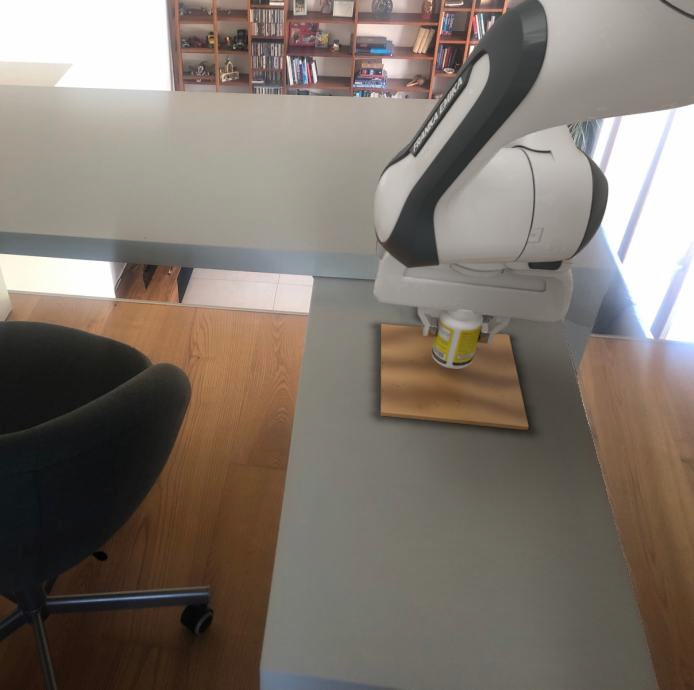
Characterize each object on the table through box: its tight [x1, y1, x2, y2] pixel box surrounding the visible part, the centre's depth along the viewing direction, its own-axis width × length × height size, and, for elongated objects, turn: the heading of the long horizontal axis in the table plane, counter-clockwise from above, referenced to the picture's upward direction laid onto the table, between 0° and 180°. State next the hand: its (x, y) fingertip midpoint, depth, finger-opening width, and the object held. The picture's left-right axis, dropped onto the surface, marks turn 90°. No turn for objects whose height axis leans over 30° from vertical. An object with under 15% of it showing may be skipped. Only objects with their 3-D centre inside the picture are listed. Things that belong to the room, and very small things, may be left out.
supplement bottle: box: [432, 309, 484, 369], centre depth 79 cm, size 5×5×8 cm
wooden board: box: [380, 323, 530, 431], centre depth 83 cm, size 16×16×1 cm
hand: (456, 336), depth 80 cm, fingers closed on supplement bottle, 5 cm apart
